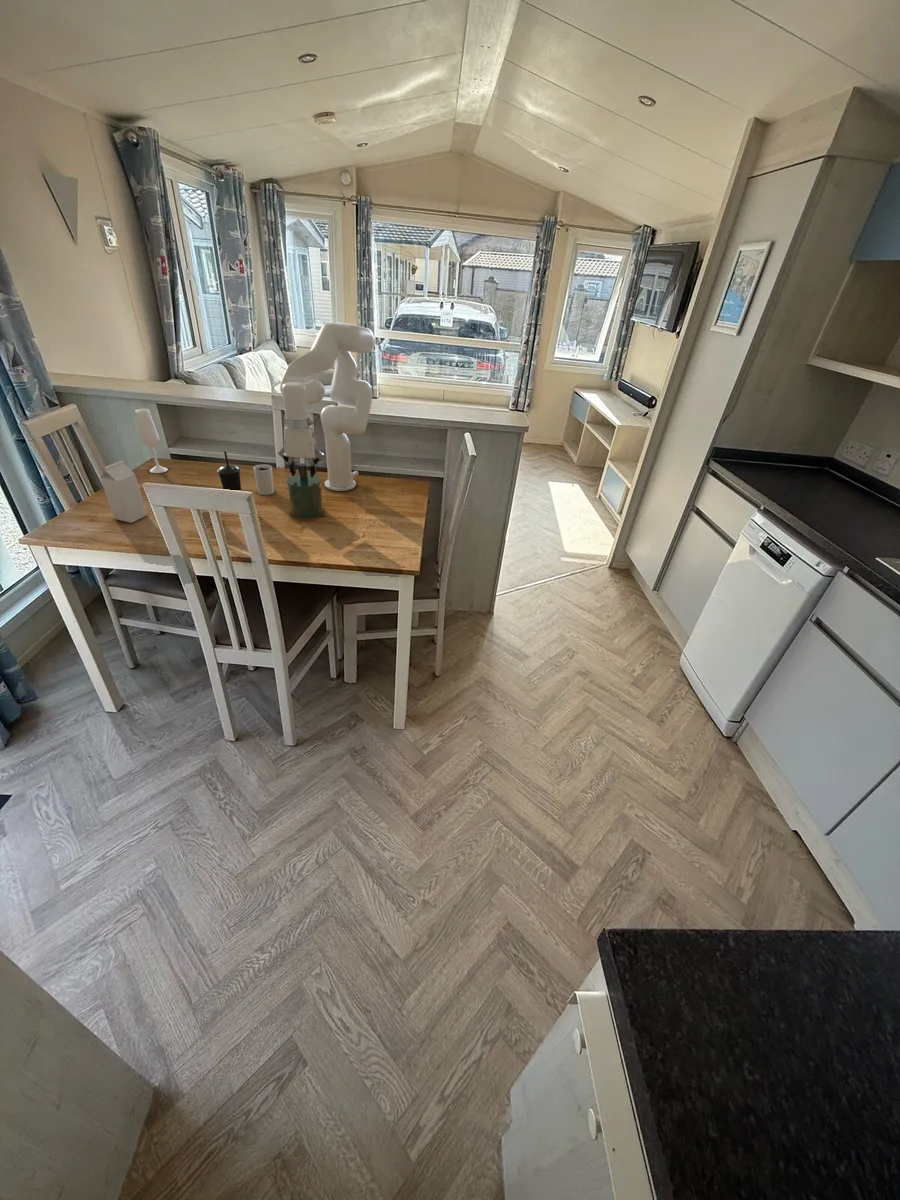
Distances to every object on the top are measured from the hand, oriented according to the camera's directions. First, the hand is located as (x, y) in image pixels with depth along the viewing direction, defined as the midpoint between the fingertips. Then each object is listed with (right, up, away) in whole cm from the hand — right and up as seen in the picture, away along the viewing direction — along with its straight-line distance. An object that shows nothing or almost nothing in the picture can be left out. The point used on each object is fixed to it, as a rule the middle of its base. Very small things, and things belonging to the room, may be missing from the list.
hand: (303, 474), depth 176 cm
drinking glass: (-21, -2, +21) cm, 30 cm away
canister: (-1, -12, +8) cm, 15 cm away
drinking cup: (-28, -9, +11) cm, 31 cm away
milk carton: (-59, -16, -3) cm, 61 cm away
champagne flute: (-70, +10, +32) cm, 77 cm away
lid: (0, -2, +1) cm, 2 cm away
